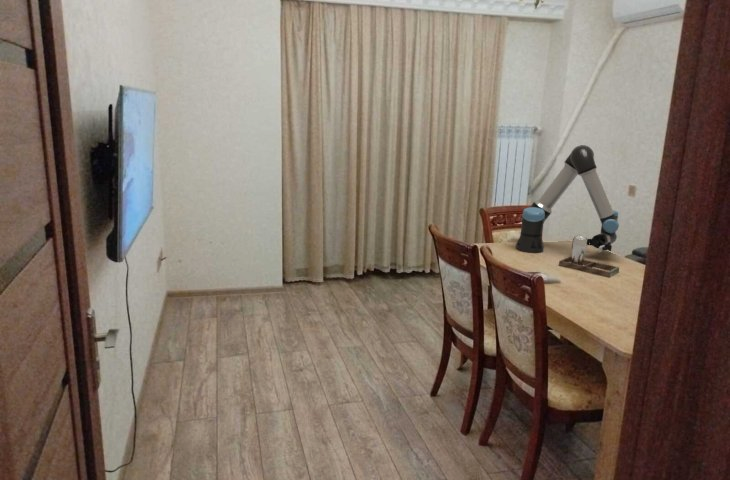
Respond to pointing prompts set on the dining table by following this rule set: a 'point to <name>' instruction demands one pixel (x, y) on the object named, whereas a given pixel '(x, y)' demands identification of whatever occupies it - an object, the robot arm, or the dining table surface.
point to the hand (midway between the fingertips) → (585, 247)
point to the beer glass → (578, 249)
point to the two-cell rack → (590, 267)
